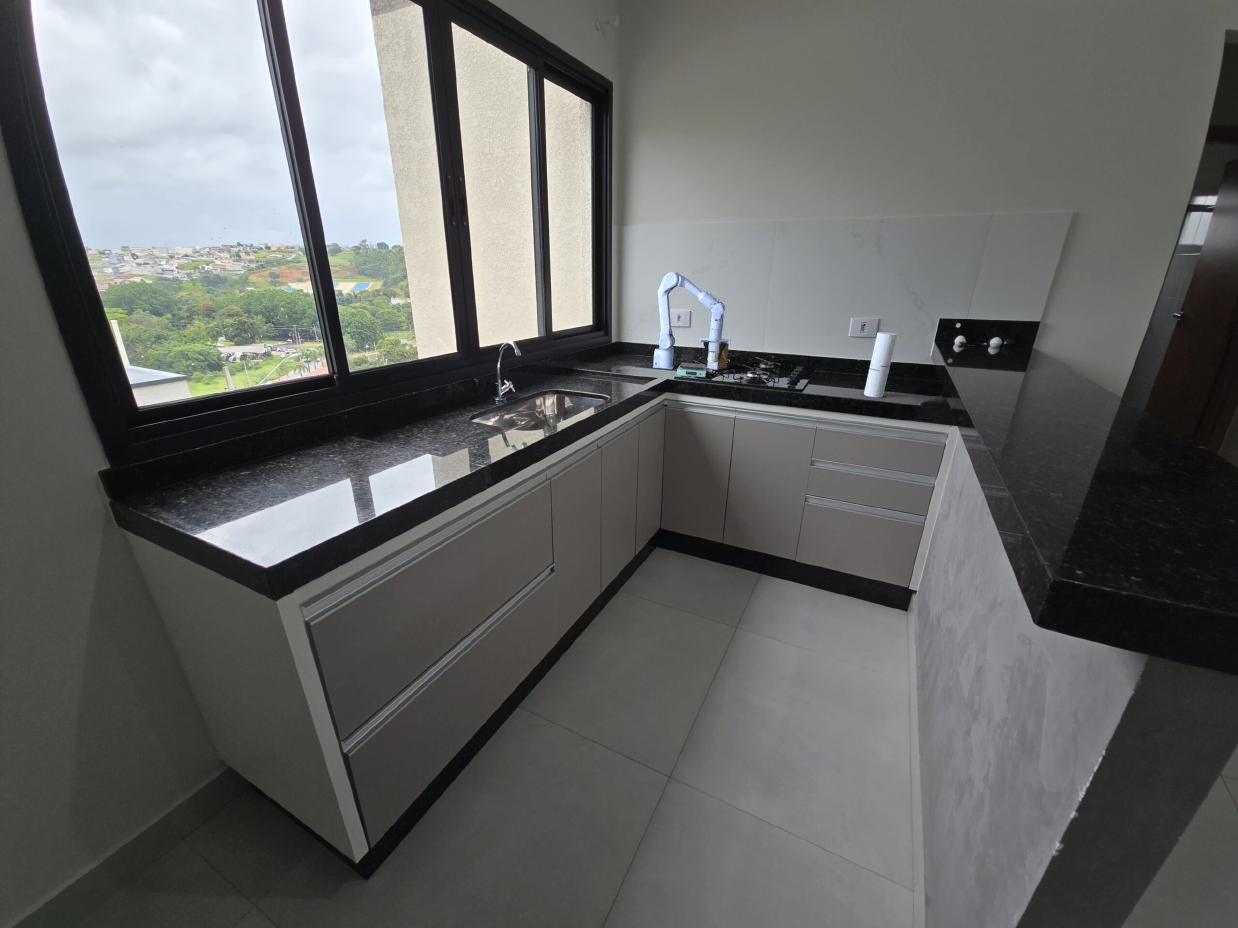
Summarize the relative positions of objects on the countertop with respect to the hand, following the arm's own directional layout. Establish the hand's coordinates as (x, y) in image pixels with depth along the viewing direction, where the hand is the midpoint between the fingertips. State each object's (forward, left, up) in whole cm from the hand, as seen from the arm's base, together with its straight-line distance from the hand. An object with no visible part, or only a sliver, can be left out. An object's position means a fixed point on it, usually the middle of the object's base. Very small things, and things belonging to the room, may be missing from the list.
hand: (713, 358), depth 242 cm
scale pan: (-9, -9, -3) cm, 13 cm away
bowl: (0, 0, -1) cm, 1 cm away
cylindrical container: (+67, -25, -7) cm, 72 cm away
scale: (-9, -9, -6) cm, 14 cm away
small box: (+2, +11, -7) cm, 13 cm away
